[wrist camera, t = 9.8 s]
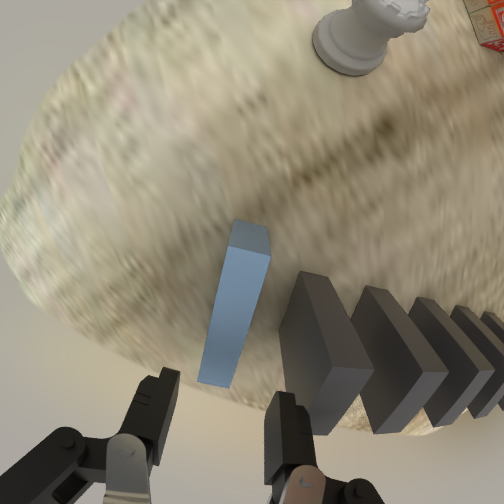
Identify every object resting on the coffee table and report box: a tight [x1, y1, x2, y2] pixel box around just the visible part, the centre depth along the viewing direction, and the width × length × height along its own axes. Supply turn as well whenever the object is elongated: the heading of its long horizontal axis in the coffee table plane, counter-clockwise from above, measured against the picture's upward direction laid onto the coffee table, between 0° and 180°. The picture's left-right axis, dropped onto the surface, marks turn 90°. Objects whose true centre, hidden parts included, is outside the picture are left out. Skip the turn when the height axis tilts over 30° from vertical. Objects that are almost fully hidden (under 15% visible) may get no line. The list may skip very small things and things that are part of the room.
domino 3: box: [408, 297, 495, 428], centre depth 16 cm, size 2×5×9 cm, turn 166°
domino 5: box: [480, 311, 504, 411], centre depth 17 cm, size 2×5×9 cm, turn 166°
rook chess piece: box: [313, 0, 430, 76], centre depth 10 cm, size 4×4×8 cm
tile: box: [197, 219, 271, 388], centre depth 17 cm, size 2×5×9 cm
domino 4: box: [450, 305, 504, 419], centre depth 16 cm, size 2×5×9 cm, turn 166°
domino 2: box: [350, 286, 449, 434], centre depth 16 cm, size 2×5×9 cm, turn 166°
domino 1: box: [279, 271, 375, 435], centre depth 15 cm, size 2×5×9 cm, turn 166°
